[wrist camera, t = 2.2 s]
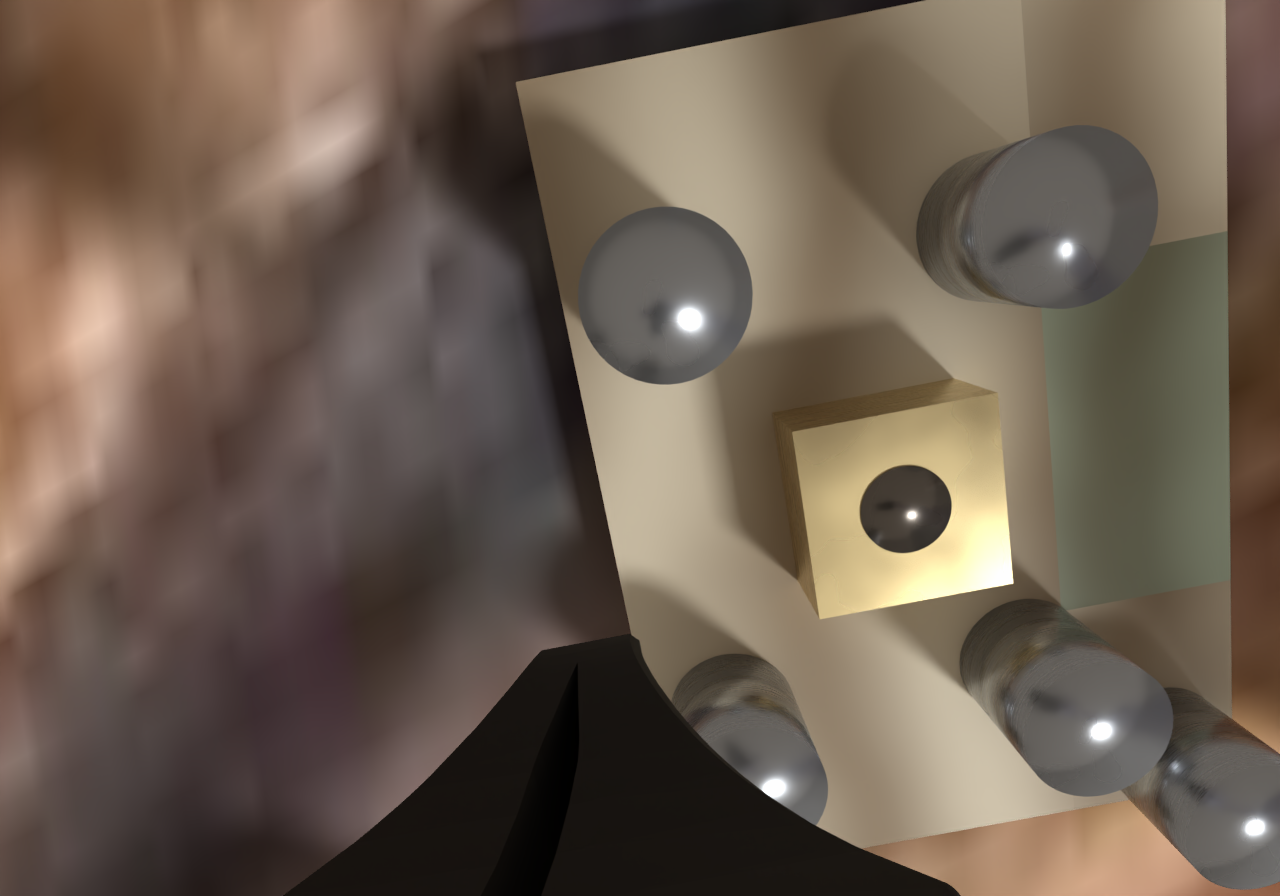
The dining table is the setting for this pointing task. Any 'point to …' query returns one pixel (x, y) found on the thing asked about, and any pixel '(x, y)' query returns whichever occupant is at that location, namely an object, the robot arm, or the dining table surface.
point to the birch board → (912, 364)
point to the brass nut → (895, 496)
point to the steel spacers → (1015, 631)
